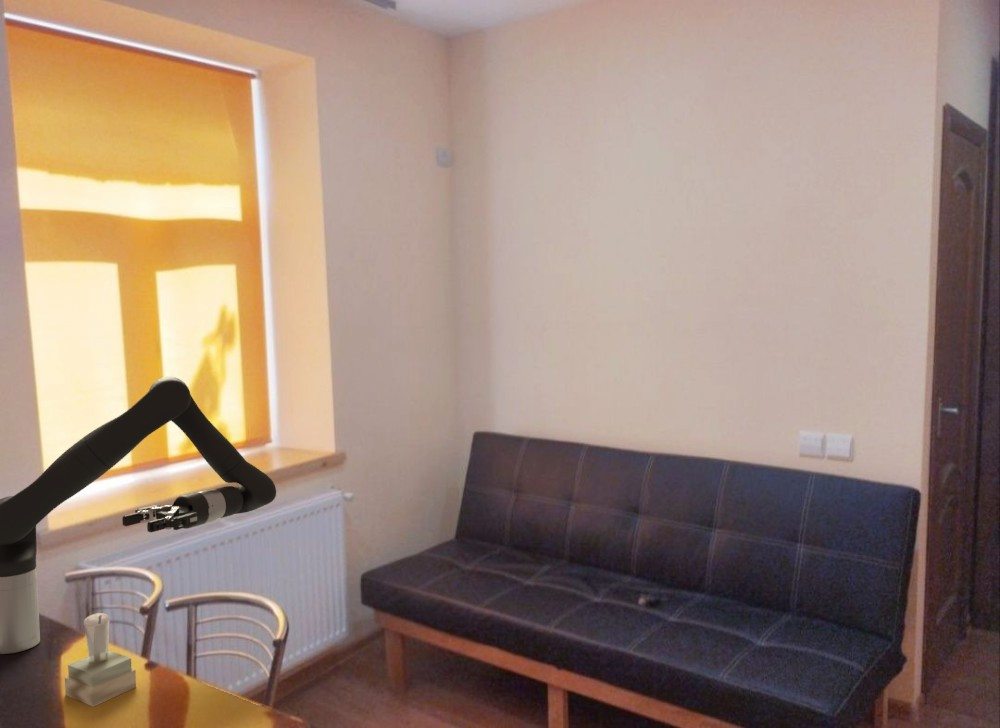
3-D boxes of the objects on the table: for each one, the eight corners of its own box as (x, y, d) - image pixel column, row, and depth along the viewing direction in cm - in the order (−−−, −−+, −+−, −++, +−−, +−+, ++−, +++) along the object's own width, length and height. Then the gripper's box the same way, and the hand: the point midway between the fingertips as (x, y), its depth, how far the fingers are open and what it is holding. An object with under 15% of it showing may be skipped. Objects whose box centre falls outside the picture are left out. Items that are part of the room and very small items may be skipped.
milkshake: (89, 668, 152) (87, 618, 151) (83, 659, 156) (80, 610, 156) (114, 662, 155) (112, 612, 154) (108, 652, 159) (106, 604, 158)
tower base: (65, 695, 154) (64, 665, 154) (108, 676, 162) (107, 647, 162) (93, 706, 150) (91, 676, 149) (136, 686, 157) (134, 657, 157)
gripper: (179, 488, 185) (114, 502, 171) (220, 496, 178) (156, 511, 164) (179, 519, 185) (115, 536, 172) (221, 528, 178) (157, 547, 164)
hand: (135, 524), depth 168 cm, fingers open, 8 cm apart
